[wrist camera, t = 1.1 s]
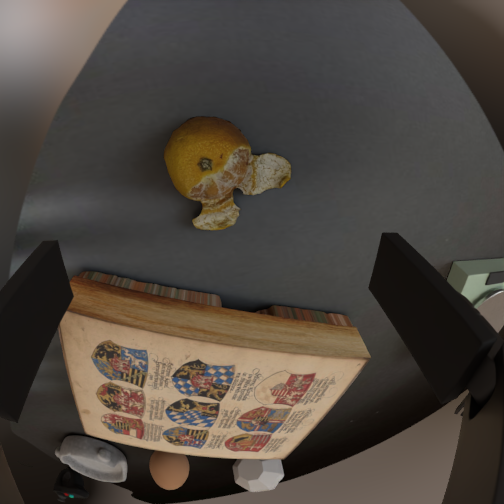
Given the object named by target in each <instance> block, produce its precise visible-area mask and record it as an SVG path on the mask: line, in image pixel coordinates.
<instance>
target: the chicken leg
mask: <svg viewBox="0 0 504 504" xmlns="http://www.w3.org/2000/svg"><path fill="white" fill-rule="evenodd" d="M233 472H234V478H235V483H237V484H238V485H240V486H242V487H243V488H245V489H247V490H249V491H251V492H260V491H266V490H272V489H274V488H275V487H276V486H277V484H278V483H279V481H280V480H281V479H282V478H283V476H284V473H283V468H282V463H281V459H237V461H236V462H235V464H234V465H233Z"/></svg>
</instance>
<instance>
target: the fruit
mask: <svg viewBox="0 0 504 504" xmlns="http://www.w3.org/2000/svg"><path fill="white" fill-rule="evenodd" d="M164 160H165V162H166V166H167V169H168V173H169V175H170V177H171V179H172V182H173V184H174V186H175V188H176V189H177V190H178V191H179V192H180V193H181V194H182V195H183V196H185V197H187V198H189V199H191V200H195V201H201V203H202V206H203V207H202V212H201V214H200V215H199V216H198V217H197V218H194V219H192V222H193V224H194V226H195V227H196V228H198V229H201V230H220V229H225V228H226V227H229V226H231V225H234V224H235V222H236V219H237V217H238V216H239V215H240V214H239V210H241V209H240V208H238V207H237V206H236V205H235V204H234V202H233V190H234V189H235V188H240V189H241V190H242V191H243V194H246V195H255V194H261V193H262V192H263V191H265V190H267V189H272V188H282V187H283V186H284V184H285V183H286V182H287V181H289V180H290V179H291V178H290V175H291V165H290V163H289V162H288V161H287V160H286V159H285V158H283V157H281V156H279V155H276V154H273V153H267V154H262V155H260V156H256V155H253V154H251V147H250V145H249V143H248V140H247V139H246V138H245V136H244V135H243V134H242V133H241V130H240V129H238V128H237V127H235V126H234V125H233V124H231V122H230V121H226V120H223V119H219V118H217V117H204V116H201V117H193V118H190V119H189V120H187V121H186V122H185V123H184V124H182V125H181V126H180V127H179V128H178V129H176V130H174V131H173V133H172V136H171V137H170V140H169V141H168V143H167V145H166V147H165V150H164Z"/></svg>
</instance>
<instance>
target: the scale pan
mask: <svg viewBox="0 0 504 504" xmlns="http://www.w3.org/2000/svg"><path fill="white" fill-rule="evenodd" d="M474 308H476V309H477V310H478V311H479V312H480V313H481V315H483V316H484V318H485V319H486V320H487V321H488V322H489V323H490V324H491V326H492V327H493V328H494V329H495V330H496V332H497V333H498V332H499V331H500V329H501V328H502V327H503V325H504V289H497V290H495V291H493V292H491V293H489V294H488V295H486V296H485V297H484V298H482V299H481V300H480V301H479V302H478V303H477V304H476V305H475V306H474Z"/></svg>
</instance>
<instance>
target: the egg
mask: <svg viewBox="0 0 504 504" xmlns="http://www.w3.org/2000/svg"><path fill="white" fill-rule="evenodd" d="M150 472H151V474H152V477H153V479H154V480H155V482H156V483H157V484H158V485H159V486H160V487H162V488H164V489H167V490H174V489H177V488H179V487H180V486H182V484H183V483H184V482H185V480H186V479H187V477H188V473H189V462H188V460H187V457H186V456H185V454H178V453H170V452H164V451H158V450H156V451H155V452H154V453H153V454H152V456H151V458H150Z"/></svg>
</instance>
